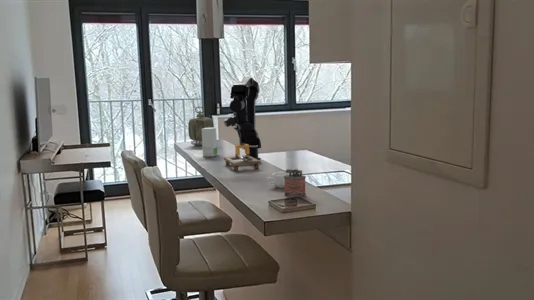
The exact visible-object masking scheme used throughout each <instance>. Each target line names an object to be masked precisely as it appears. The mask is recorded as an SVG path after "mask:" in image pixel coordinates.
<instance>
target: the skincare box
mask: <svg viewBox="0 0 534 300" xmlns="http://www.w3.org/2000/svg"><path fill="white" fill-rule="evenodd" d="M201 130H202V141H201V143H202V144H201V146H202V157H206V158H207V157H215V156H218V142H217V141H218V140H217V127H216V126H214V128H203V129H201Z"/></svg>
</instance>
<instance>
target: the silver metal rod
mask: <svg viewBox="0 0 534 300" xmlns="http://www.w3.org/2000/svg"><path fill="white" fill-rule="evenodd" d="M234 156H235V157H238V158H240V159H239V160H241V161H243V162H247V161H248V158H243V157H242V156H243V155H241V154H240V155H236V154H235V155H234Z"/></svg>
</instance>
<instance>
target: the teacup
mask: <svg viewBox="0 0 534 300" xmlns="http://www.w3.org/2000/svg"><path fill="white" fill-rule="evenodd" d="M271 174H272V175H271V176H268V177H267V182H268V184H270V185H274V186H275V187H276V188H278V189H285V178H284V175H289V173H286V171H275V172H273V173H271ZM292 174H293V173H291V175H292ZM269 179H271V180H272V181H271V182H270V181H269Z"/></svg>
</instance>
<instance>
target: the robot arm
mask: <svg viewBox="0 0 534 300" xmlns="http://www.w3.org/2000/svg"><path fill="white" fill-rule="evenodd" d="M230 90H231V91H230V100H231V99H232V100H231V101H230V103H229V109H230V110H231V111H232V112H233V114H232V115H231V116H228V117H227V118H224V119H222V120H223V123H224V126H225V127H227V128H229V127H233V129H234V130H235V131H236V132H237V135H238V138H239V139H241V142H242V143H245V144H248V145H249V154H245V155H250V156H252V157H253V158H255V159H257V160H260V159H262V158H261V157H259V149H262V142H261V139H260V136H259V133H258V131H257V130H256V101H257V99H258V98H259V93H260V85H259V82H257V80H255V79H254V77H252V76H243V77H242V79H241V81H239V82H236V83H233V84H232V86H231V89H230ZM239 139H238V140H239ZM243 149H244V150H245V147H244V148H243Z"/></svg>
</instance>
